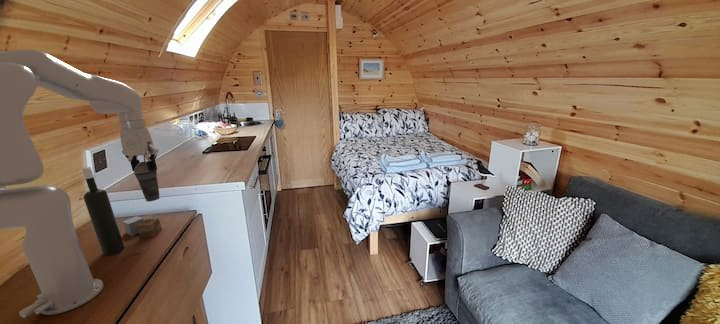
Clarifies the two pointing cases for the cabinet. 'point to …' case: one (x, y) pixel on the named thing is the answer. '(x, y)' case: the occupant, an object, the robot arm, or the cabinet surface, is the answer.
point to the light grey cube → (132, 225)
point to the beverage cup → (147, 181)
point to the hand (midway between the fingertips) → (145, 170)
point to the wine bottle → (102, 216)
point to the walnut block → (149, 227)
